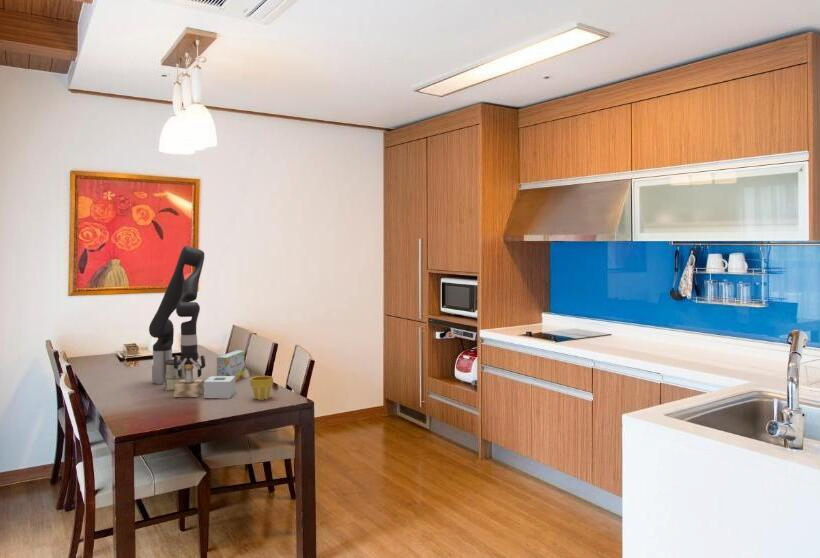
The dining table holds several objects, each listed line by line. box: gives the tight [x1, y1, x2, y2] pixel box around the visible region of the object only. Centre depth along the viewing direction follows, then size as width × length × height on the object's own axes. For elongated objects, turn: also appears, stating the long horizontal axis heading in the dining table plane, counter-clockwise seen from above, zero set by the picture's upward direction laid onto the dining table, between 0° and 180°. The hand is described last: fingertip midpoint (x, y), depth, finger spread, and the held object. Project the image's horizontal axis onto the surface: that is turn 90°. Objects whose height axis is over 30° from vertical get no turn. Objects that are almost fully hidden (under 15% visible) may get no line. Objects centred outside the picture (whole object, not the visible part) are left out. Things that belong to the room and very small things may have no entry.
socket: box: [203, 375, 237, 399], centre depth 296 cm, size 12×12×8 cm
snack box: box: [216, 349, 246, 382], centre depth 325 cm, size 21×6×15 cm, turn 168°
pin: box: [184, 364, 195, 384], centre depth 297 cm, size 4×4×14 cm
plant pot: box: [249, 375, 274, 401], centre depth 291 cm, size 10×10×10 cm
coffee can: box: [165, 358, 185, 391], centre depth 309 cm, size 10×10×14 cm
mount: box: [173, 379, 205, 398], centre depth 297 cm, size 11×11×6 cm
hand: (189, 377), depth 297 cm, fingers open, 8 cm apart
